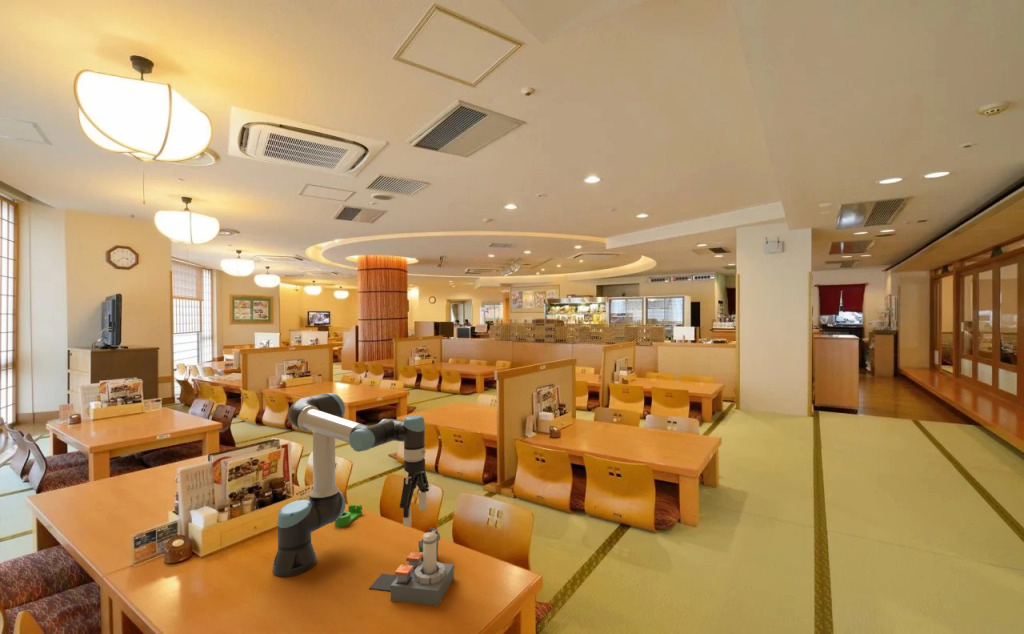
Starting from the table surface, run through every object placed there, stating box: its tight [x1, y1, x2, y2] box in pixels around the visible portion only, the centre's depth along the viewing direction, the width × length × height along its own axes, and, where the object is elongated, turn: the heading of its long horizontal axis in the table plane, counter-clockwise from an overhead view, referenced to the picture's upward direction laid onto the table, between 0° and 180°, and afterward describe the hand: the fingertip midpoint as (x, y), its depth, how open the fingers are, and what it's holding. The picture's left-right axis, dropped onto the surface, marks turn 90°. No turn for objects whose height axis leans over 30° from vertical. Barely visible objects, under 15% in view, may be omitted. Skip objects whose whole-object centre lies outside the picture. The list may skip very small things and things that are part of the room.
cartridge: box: [422, 531, 438, 575], centre depth 153 cm, size 5×5×14 cm
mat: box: [368, 573, 398, 592], centre depth 157 cm, size 9×9×1 cm
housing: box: [390, 561, 455, 607], centre depth 153 cm, size 17×16×7 cm
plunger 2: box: [406, 550, 423, 570], centre depth 159 cm, size 5×5×7 cm
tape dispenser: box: [334, 503, 363, 528], centre depth 209 cm, size 15×7×5 cm, turn 168°
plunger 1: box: [394, 563, 413, 585], centre depth 150 cm, size 5×5×7 cm
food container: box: [417, 527, 441, 561], centre depth 172 cm, size 12×6×10 cm, turn 168°
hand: (415, 517), depth 159 cm, fingers open, 13 cm apart
